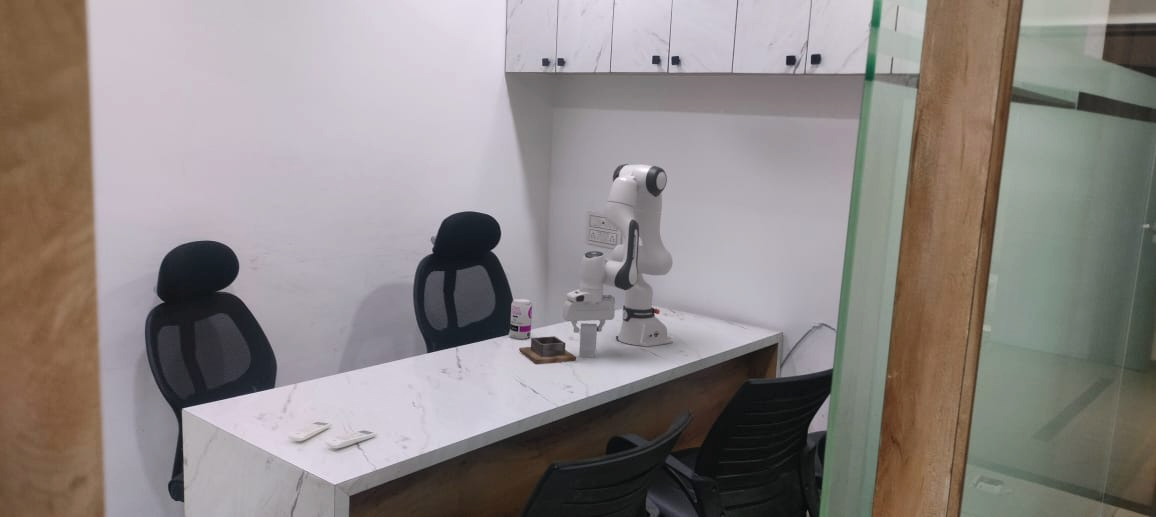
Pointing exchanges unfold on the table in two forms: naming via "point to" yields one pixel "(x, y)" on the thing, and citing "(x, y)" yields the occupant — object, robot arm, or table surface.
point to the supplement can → (521, 318)
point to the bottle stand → (547, 351)
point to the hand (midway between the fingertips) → (587, 331)
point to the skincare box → (588, 340)
